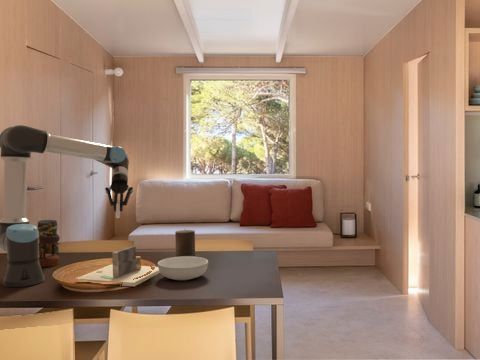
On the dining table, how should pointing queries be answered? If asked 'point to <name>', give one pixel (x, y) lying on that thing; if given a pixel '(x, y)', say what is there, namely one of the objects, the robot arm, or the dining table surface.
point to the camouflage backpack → (53, 230)
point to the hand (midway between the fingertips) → (117, 216)
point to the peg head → (125, 261)
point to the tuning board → (127, 279)
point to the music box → (48, 247)
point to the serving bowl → (182, 267)
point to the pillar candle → (185, 243)
